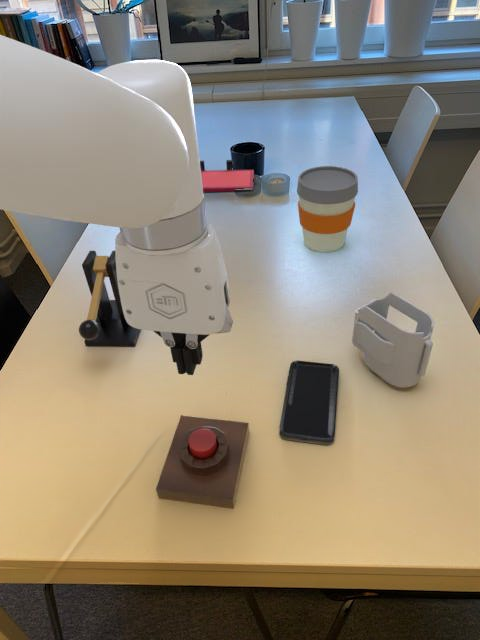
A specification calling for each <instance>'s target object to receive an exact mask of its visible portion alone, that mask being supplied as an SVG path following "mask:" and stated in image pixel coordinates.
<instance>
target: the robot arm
mask: <svg viewBox="0 0 480 640" xmlns="http://www.w3.org/2000/svg"><path fill="white" fill-rule="evenodd" d="M192 90H193V89H192V84H191V81H190V78H189V76H188V74H187V72H186V71H185V70H184V68H183V67H181V66H180V65H178V64H177V63H175V62H170V61H166V60H163V59H162V60H161V59H140V60H132V61H125V62H120V63H115V64H112V65H110V66H107V67H106V68H103V69H101V70H100V71H98V72H94V71H92V70H90V69H89V68H86V67H84V66H81V65H80V64H77V63H74V62H72V61H70V60H67V59H65V58H62V57H60V56H57V55H55V54H52V53H50V52H47V51H45V50H42V49H40V48H37V47H34V46H33V45H29V44H27V43H24V42H21V41H18V40H16V39H14V38H10V37H7V36H6V35H2V34H0V210H1V211H7V212H11V213H12V212H13V213H18V214H19V213H20V214H25V215H31V216H35V217H40V218H47V219H54V220H60V221H67V222H74V223H82V224H91V225H97V226H107V227H113V228H118V229H119V232H118V234H117V235H116V236H115V239H114V240H115V242H114V251H115V257H116V271H117V281H118V288H119V294H120V299H121V305H122V309H123V313H124V317H125V319H126V321H127V323H128V324H129V325H130V326H132V327H134V328H137V329H141V331H149V332H153V333H155V334H156V335H158V336H159V337H160V338H162V340H163V343H164V345H165V346H166V347H168V348H169V349H170V354H171V358H172V362H173V363H175V364H176V369H177V373H178V375H184V374H187V375H188V376H194V374H195V370H196V368H197V366H200V365H201V364H202V361H203V357H204V355H203V348H202V342H203V341H204V340H206V339H207V338H208V337H209V336H210V335H216V334H224V333H230V332H231V330H232V327H233V324H234V320H233V318H232V315H231V313H230V310H229V308H228V307H230V301H231V296H230V286H229V280H228V273H227V268H226V263H225V260H224V254H223V252H222V247H221V245H220V242H219V239H218V236H217V232H216V230H215V228H214V226H213V224H211V223H208V222H207V213H206V205H205V204H206V203H205V195H204V192H203V186H202V177H201V168H200V161H201V159H200V151H199V142H198V141H199V140H198V133H197V131H198V130H197V122H196V114H195V107H194V106H195V105H194V96H193V91H192ZM130 311H131V312H130Z"/></svg>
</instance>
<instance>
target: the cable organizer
mask: <svg viewBox="0 0 480 640" xmlns="http://www.w3.org/2000/svg"><path fill="white" fill-rule="evenodd" d="M389 307H392V308H394V309H395V310H396V311H398V312H399V313H401V314H403V315H405V316H406V317H408V318H410V319H411V320H413V321H415V322H416V328H415V332H413V331H408V330H406V329H403V328H401V327H400V326H398V325H397V324H395V323H393V322H391V321H390V320H389V319H388V314H389ZM434 327H435V320H434V318H433V317H432V315H431V314H430V313H429V312H426V311H425V310H424V309H422V308H420V307H418V306H416V305H415V304H413V303H412V302H409V301H408V300H407V299H405V298H403V297H401V296H399V295H398V294H397V293H395V292H393V291H391V292H390V293H388V294H387V295H386V296H384V297H383V298H374V299H372V300H371V301H369V302H367V303H365V304H364V305H362V306H359V307H358V308H356V309H355V312H354V320H353V328H352V337H351V343H352V345H353V346H354V348H356V349H358V350H359V351H360V352H362V353H363V354H362V360H363V362H364V364H365V365H366V366H367V368H368V369H369V370H371V372H373V373H374V374H376V375H377V376H378V377H379V378H381V379H382V380H384V381H385V382H386V383H388V384H389V385H390V386H393V387H396V388H410V387H413V386H415V385H417V384H418V383H419V382H420V380H421V378H422V377H423V376H425V375H426V372H427V368H428V365H429V360H430V357H431V354H432V353H431V352H432V350H433V346H434V344H433V343H434V342H433V341H432V339H431V338H432V334H433V331H434Z"/></svg>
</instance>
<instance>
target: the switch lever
mask: <svg viewBox="0 0 480 640" xmlns="http://www.w3.org/2000/svg"><path fill="white" fill-rule="evenodd" d="M109 257H110V256H109V255H97V256H96V257H95V261H94V266H93V271H94V272H95V274H96V280H95V285H94V289H93V294H92V296H91V299H90V303H89V309H88V312H87V318H86V320H84V321H82V322H81V323H80V324H79V326H78V333H79V335H80V337H81V338H82V339H83V340H85V339H86V340H92V339H95V338H96V337H97V336H98V335H99V333H100V327H99V325H98V323H97V322H96V318H97V313H98V308H99V303H100V298H101V293H102V288H103V284H104V283H105V280H106V279H105V278H109V276H108V272H107V269H106V263H107V261H108V259H109Z"/></svg>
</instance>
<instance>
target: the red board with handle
mask: <svg viewBox="0 0 480 640" xmlns="http://www.w3.org/2000/svg"><path fill="white" fill-rule="evenodd" d="M232 160H233V159H226V161H225V162H226V169H224V170H223V169H222V170H221V169H219V170H218V169H217V170H216V169H215V170H213V169H212V170H206V168H205V160H200V168H201V177H202V186H203V193H207V192H208V193H209V192H236V191H235V189H244V188H253V189H254V182H253V179H254V180H255V169H234V170H232V168H234V163H233V164H232Z"/></svg>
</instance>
